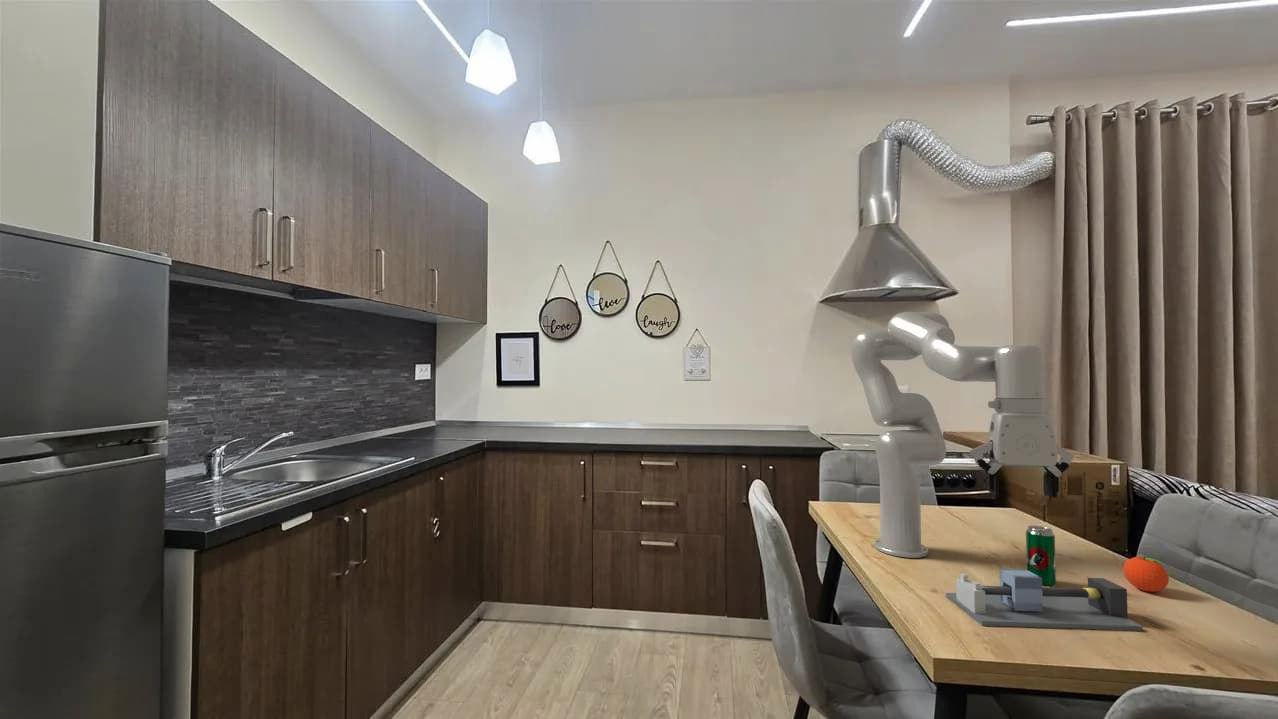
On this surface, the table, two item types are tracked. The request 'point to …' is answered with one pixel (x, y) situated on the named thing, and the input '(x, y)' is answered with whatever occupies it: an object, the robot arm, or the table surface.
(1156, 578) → the clementine
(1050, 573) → the soda can
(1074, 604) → the linear slide rail
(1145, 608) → the table surface
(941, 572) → the table surface
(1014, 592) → the sleeve
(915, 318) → the robot arm
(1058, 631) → the table surface
